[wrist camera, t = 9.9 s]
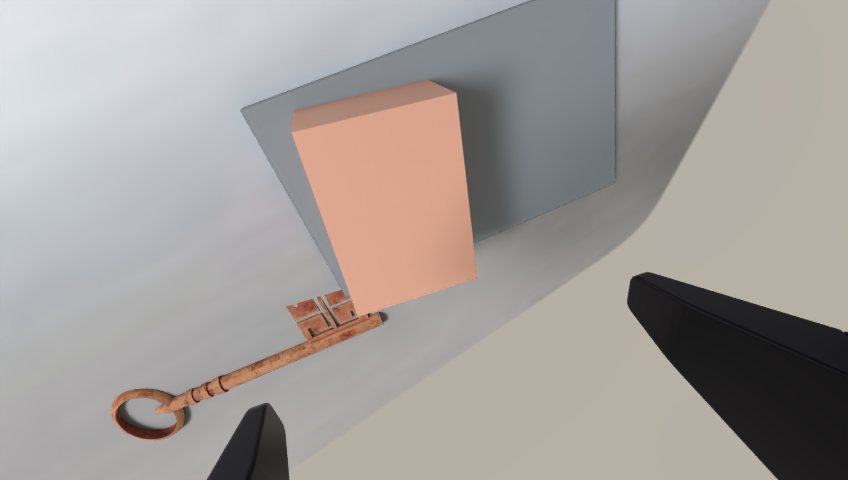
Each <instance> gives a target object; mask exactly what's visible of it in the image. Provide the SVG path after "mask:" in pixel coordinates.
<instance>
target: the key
mask: <svg viewBox="0 0 848 480" xmlns="http://www.w3.org/2000/svg"><path fill="white" fill-rule="evenodd" d="M325 297H326V299H327V301H328V303H329V305H330V306H332V305H335V304H337V303H339V302H342V301H344V300H347V299H349V298H351V296H348V297H346V296H345V295H344V293H343V291H342V290H340V291H337V292H333V293H330V294H327V295H325ZM317 299H318V301H319V302H320V304H321V306H322V308H323V310H324V311H325V313H326V315H327V317H328V319H329V320H330V322H331V324H332V326H333V328H331V329H328V330H325V331H323V332H321V333H318V334H316V335H313V336H312V334H311V333H310V331H309V330H308V328H312V330H313V331H314V333H317V332H320V331H322V330H324V329H327V328H329V326H328V324H327V322H326V321H325V319H324V317H323V316H322V314H321V313H320V314H317V315H315V316H312V317H310V318H307V319H305V320H302V321H300V322H298V323H297V325H298V326H299V328H300V329H301V331H302V333H303V334H304V336H305V338H306V339H307V342H304V343H302V344H300V345H297V346H295V347H292V348H290V349H287V350H285V351H283V352H280V353H278V354H275V355H273V356H270V357H268V358H266V359H263V360H261V361H258V362H256V363H254V364H251V365H249V366H246V367H244V368H241V369H239V370H237V371H234V372H232V373H229V374H227V375H224V376H222V377H217V378H215V379H213V380H212V382H210V383H204V384H202V385H201V386H200V387H198V388H195V389H190V390H188V391H187V392H186V393H183V394H181V395H179V396H176V397H174V398H173V397H172V396H170V395H168V394H166V393H164V392H161V391H157V390H152V389H134V390H130V391H127V392H124V393H122V394H120V395H119V396H118V397H117V398H116V399H115V400H114V402H113V404H112V409H111V414H112V417H113V420H114V421H115V423H116V424H117V426H118V427H119V428H120V429H122V430H123V431H124V432H126V433H127V434H129V435H132V436H134V437H136V438H140V439H145V440H161V439H165V438H168V437H170V436H172V435H174V434H175V433H177V432H178V431H179V430H180V429H181V428H182V426H183V424H184V420H185V414H184V410H183V407H186V406H188V405H190V404H191V405H194V404H196V403H198V402H200V400H202V399H208V398H211V397H213V396H214V395H215V394H221V393H225V392H228V390H229V389H231V388H233V387H235V386H238V385H240V384H243V383H245V382H247V381H250V380H252V379H254V378H257V377H259V376H262V375H264V374H266V373H269V372H271V371H273V370H276V369H278V368H281V367H283V366H285V365H288V364H290V363H292V362H295V361H297V360H300V359H302V358H304V357H307V356H309V355H311V354H314V353H316V352H319V351H321V350H323V349H326V348H328V347H330V346H333V345H335V344H338V343H340V342H342V341H345V340H347V339H349V338H352V337H354V336H356V335H359V334H361V333H364V332H366V331H368V330H371V329H373V328H375V327H378V326H380V325H383V324H384V323H383V321H382V318H381V316H380V314H379V312H377V313H375V314H372V315H370V316H368V314H365V315H362V316H359V317H358V316H357V317H358V318H355V319H353V320H351V321H348V322H346V323H343V324H341V325H338V326H337V325H336V323H335V321H334V320H333V318H332V316H331V314H330V313H329V311H328V309H327V308H326V306H325V304H324V302H323V301H322V299H321V297H317ZM297 305H298V306H299V307H296V308H294V306H293V305H291V306H287V308H288V310H289V312H290V313H291V315H292V317H293V318H294V320H295V321H296V320H298V319H300V318H303V317H305V316H308V315H310V314H313V313H315V312H318V311H319V309H318V307H317V306H316V304H315V302H314V301H313V299H310V300H307V301H304V302H300V303H297ZM332 310H333V312H334V314H335V316H336V318H337V319H338V321H339V323H341V322H344V321H346V320H348V319H351V318H353V315H352V314H351V312H350V311H352V310H354V311H355V313H356V310H355V307H354V305H353V302H352V301H349V302H347V303H344V304H342V305H340V306H337V307H335V308H332ZM356 315H357V313H356ZM135 398H149V399H153V400H156V401H159V402H161V403H163V404H162V405H161V406H160V407H159V408H157V409H156V410H155V413H156V414H157V413H171V412H174V414H175V416H176V419H177V423H176V424H175V425H174V426H172V427H170V428H167V429H164V430H157V431H151V430H143V429H139V428H136V427H134V426H132V425H130V424H128V423H127V422H125V421H124V420H123V419H122V418H121V417H120V415H119V412H118V407H119V406H120V405H121V404H122V403H123V402H125V401H127V400H130V399H135Z"/></svg>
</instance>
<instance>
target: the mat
mask: <svg viewBox="0 0 848 480" xmlns="http://www.w3.org/2000/svg"><path fill="white" fill-rule="evenodd" d="M426 79H427V80H430V81H432V82H434V83H436V84H438V85H440V86H443V87H445V88H447V89H449V90H451V91H453V92H456V94H457V103H458V111H459V120H460V129H461V138H462V147H463V155H464V164H465V173H466V182H467V191H468V199H469V208H470V217H471V226H472V235H473V243H475V242H477V241H480V240H482V239H484V238H487V237H489V236H491V235H494V234H496V233H498V232H501V231H503V230H506V229H508V228H510V227H513V226H515V225H517V224H520V223H522V222H524V221H527V220H529V219H532V218H534V217H536V216H539V215H541V214H543V213H546V212H548V211H550V210H553V209H555V208H557V207H560V206H562V205H565V204H567V203H569V202H572V201H574V200H576V199H579V198H581V197H583V196H586V195H588V194H590V193H593V192H595V191H598V190H600V189H602V188H605V187H607V186H609V185H612V184H614V183H615V0H530V1H528V2H525V3H522V4H520V5H517V6H514V7H512V8H509V9H506V10H504V11H501V12H498V13H495V14H493V15H490V16H487V17H485V18H482V19H479V20H477V21H474V22H471V23H469V24H466V25H463V26H461V27H458V28H455V29H453V30H450V31H447V32H445V33H442V34H439V35H437V36H434V37H431V38H429V39H426V40H423V41H421V42H418V43H415V44H413V45H410V46H407V47H405V48H402V49H399V50H397V51H394V52H391V53H389V54H386V55H383V56H381V57H378V58H375V59H373V60H370V61H367V62H364V63H362V64H359V65H356V66H354V67H351V68H348V69H346V70H343V71H340V72H338V73H335V74H332V75H330V76H327V77H324V78H322V79H319V80H316V81H314V82H311V83H308V84H306V85H303V86H300V87H298V88H295V89H292V90H290V91H287V92H284V93H282V94H279V95H276V96H274V97H271V98H268V99H266V100H263V101H260V102H258V103H255V104H252V105H250V106H247V107H244V108H242V109H241V113H242V115H243V116H244V118H245V120H246V122H247V123H248V125H249V127H250V129H251V131H252V132H253V134H254V136H255V138H256V139H257V141H258V143H259V145H260V146H261V148H262V150H263V152H264V153H265V155H266V157H267V159H268V161H269V162H270V164H271V166H272V168H273V169H274V171H275V173H276V175H277V176H278V178H279V180H280V182H281V183H282V185H283V187H284V189H285V191H286V192H287V194H288V196H289V198H290V199H291V201H292V203H293V205H294V206H295V208H296V210H297V212H298V213H299V215H300V217H301V219H302V221H303V222H304V224H305V226H306V228H307V229H308V231H309V233H310V235H311V236H312V238H313V240H314V242H315V243H316V245H317V247H318V249H319V251H320V252H321V254H322V256H323V258H324V259H325V261H326V263H327V265H328V266H329V268H330V270H331V272H332V273H333V275H334V277H335V279H336V281H337V282H338V284H339V286H340V288H341V289H342V291H343V293H344V295H345V296H346V297H348V296H350V294H349V291H348V288H347V285H346V283H345V280H344V277H343V274H342V271H341V269H340V266H339V263H338V260H337V258H336V255H335V252H334V249H333V247H332V244H331V241H330V238H329V235H328V233H327V230H326V227H325V224H324V222H323V219H322V216H321V213H320V211H319V208H318V205H317V202H316V199H315V197H314V194H313V191H312V188H311V186H310V183H309V180H308V177H307V174H306V172H305V169H304V166H303V163H302V161H301V158H300V155H299V152H298V150H297V147H296V144H295V141H294V138H293V136H292V133H291V131H292V120H293V110H298V109H302V108H306V107H310V106H315V105H319V104H323V103H328V102H332V101H336V100H341V99H345V98H349V97H353V96H358V95H362V94H366V93H371V92H375V91H379V90H383V89H388V88H392V87H396V86H401V85H405V84H409V83H414V82H418V81H422V80H426Z"/></svg>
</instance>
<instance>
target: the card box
mask: <svg viewBox="0 0 848 480" xmlns="http://www.w3.org/2000/svg"><path fill="white" fill-rule="evenodd" d="M291 133H292V136H293V138H294V141H295V144H296V147H297V150H298V152H299V155H300V158H301V161H302V163H303V166H304V169H305V172H306V174H307V177H308V180H309V183H310V186H311V188H312V191H313V194H314V197H315V199H316V202H317V205H318V208H319V211H320V213H321V216H322V219H323V222H324V224H325V227H326V230H327V233H328V235H329V238H330V241H331V244H332V247H333V249H334V252H335V255H336V258H337V260H338V263H339V266H340V269H341V271H342V274H343V277H344V280H345V283H346V285H347V288H348V291H349V294H350V296H351V299H352V302H353V305H354V307H355V310H356V313H357V316H358V317H359V316H362V315H365V314H368V313H371V312H374V311H377V310H381V309H384V308H387V307H390V306H393V305H396V304H399V303H402V302H405V301H409V300H412V299H415V298H418V297H421V296H424V295H427V294H430V293H433V292H437V291H440V290H443V289H446V288H449V287H452V286H455V285H458V284H461V283H465V282H468V281H471V280H474V279H477V270H476V261H475V252H474V243H473V235H472V226H471V217H470V208H469V199H468V191H467V182H466V173H465V164H464V155H463V147H462V138H461V129H460V120H459V111H458V103H457V94H456V92H453V91H451V90H449V89H447V88H445V87H443V86H440V85H438V84H436V83H434V82H432V81H430V80H427V79H426V80H422V81H418V82H414V83H409V84H405V85H401V86H396V87H392V88H388V89H383V90H379V91H375V92H371V93H366V94H362V95H358V96H353V97H349V98H345V99H341V100H336V101H332V102H328V103H323V104H319V105H315V106H310V107H306V108H302V109H298V110H293V120H292V131H291Z"/></svg>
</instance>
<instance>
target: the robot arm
mask: <svg viewBox="0 0 848 480" xmlns="http://www.w3.org/2000/svg"><path fill="white" fill-rule="evenodd" d="M627 304H628V307H629V309H630V310H631V312H632V313H633V314H634V316H635V317H636V318H637V320H638V321H639V322H640V324H641V325H642V326H643V328H644V329H645V330H646V332H647V333H648V334H649V336H650V337H651V338H652V339H653V341H654V342H655V344H656V345H657V346H658V347H659V349H660V350H661V351H662V353H663V354H664V355H665V356H666V358H667V359H668V360H669V361H670V362H671V364H672V365H673V366H674V367H675V368H676V369H677V370H678V371H679V373H680V374H681V375H682V376H683V377H684V378H685V379H686V380H687V381H688V382H689V383H690V385H691V386H692V387H693V388H694V389H695V390H696V391H697V392H698V393H699V394H700V395H701V396H702V397H703V399H704V400H705V401H706V402H707V403H708V404H709V405H710V406H711V407H712V408H713V409H714V411H715V412H716V413H717V414H718V415H719V416H720V417H721V418H722V419H723V420H724V422H725V423H726V424H727V425H728V426H729V427H730V428H731V429H732V430H733V431H734V432H735V433H736V435H737V436H738V437H739V438H740V439H741V440H742V441H743V442H744V443H745V444H746V445H747V447H748V448H749V449H750V450H751V451H752V452H753V453H754V454H755V455H756V456H757V457H758V459H759V460H760V461H761V462H762V463H763V464H764V465H765V466H766V467H767V468H768V469H769V470H770V471H771V473H772V474H773V475H774V476H775V477H776V478H777V479H778V480H848V332H842V331H841V330H839V329H836V328H833V327H829V326H826V325H823V324H819V323H816V322H813V321H809V320H806V319H803V318H799V317H796V316H793V315H790V314H786V313H783V312H780V311H776V310H773V309H770V308H766V307H763V306H760V305H756V304H753V303H750V302H747V301H743V300H740V299H736V298H733V297H730V296H727V295H723V294H720V293H717V292H714V291H710V290H707V289H704V288H700V287H697V286H694V285H690V284H687V283H684V282H680V281H677V280H674V279H670V278H667V277H664V276H661V275H657V274H654V273H650V272H646V273H642V274H639V275H636V276H634V277H632V279H631V280H630V286H629V292H628V298H627ZM207 480H289V469H288V457H287V446H286V434H285V429H284V425H283V423H282V421H281V420H280V418H279V417H278V415H277V414H276V412H275V411H274V409H273V408H272V406H271V405H270V404H269V403H264V404H261V405H258V406H255V407H252V408H250V409H249V410H248V411H247V412H246V413H245V415H244V417H243V419H242V420H241V422H240V424H239V425H238V427H237V429H236V430H235V432H234V434H233V436H232V437H231V439H230V441H229V442H228V444H227V446H226V448H225V449H224V451H223V453H222V454H221V456H220V458H219V460H218V461H217V463H216V465H215V466H214V468H213V470H212V472H211V473H210V475H209V477H208V478H207Z"/></svg>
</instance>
